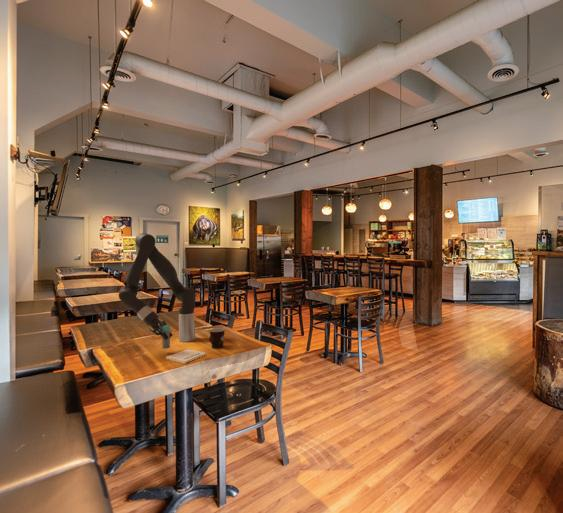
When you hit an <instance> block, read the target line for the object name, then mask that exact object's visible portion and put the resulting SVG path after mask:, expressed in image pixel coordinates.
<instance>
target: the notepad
mask: <svg viewBox="0 0 563 513" xmlns="http://www.w3.org/2000/svg"><path fill="white" fill-rule="evenodd" d="M204 355H205V356H207V352H203V351H198V350H196V349H195V350H193V349H189V348H187V349H184V350H181V351H179V352H178V351H177V352H176V353H173V354H170V355H166V356H165V359H166V360H168V359H169V360H168V361H173V362H177V363H181V364H184V363H185V364H187V362H188V363H190V362H192V360H193V361H195V360H197V358H198V359H200V358H203V357H205V356H204ZM202 356H203V357H202ZM199 357H200V358H199ZM194 359H195V360H194ZM189 361H190V362H189Z"/></svg>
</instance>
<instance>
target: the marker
mask: <svg viewBox="0 0 563 513" xmlns="http://www.w3.org/2000/svg"><path fill="white" fill-rule="evenodd" d="M162 330H163V332H164V333H165V334H166V335H167V336H168V337H169V338H168V339H167V340H165V339H164V338H163V337H162V336H161V342H162V343H161V344H162V346H161V348H162V349H166V350H167V349H170V348H171V337H170V333H171V325H168V324H167V325H164V326H162Z"/></svg>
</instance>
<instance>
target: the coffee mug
mask: <svg viewBox="0 0 563 513" xmlns="http://www.w3.org/2000/svg"><path fill="white" fill-rule="evenodd" d="M225 331H226V330H225V328H220V327H219V328H212V329H210V330H209V342H210V343H211V349H215V350H219V349H223V347H224V340H225V339H224V338H225Z"/></svg>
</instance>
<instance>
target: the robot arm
mask: <svg viewBox="0 0 563 513" xmlns="http://www.w3.org/2000/svg"><path fill="white" fill-rule="evenodd" d="M134 243H135V245H136V246H137V248H138V250H137V254H136V257H135V259H134V261H133V262H132V263H131V266H130V267H129V270H128V272H127V275H126V278H125V283H126V287H125V288H123V289H121V290H120V291H119V293H118V298H119V300H120V302H122V303H123V305H126V306H127V307H129V308H130V309H131V310H132V311H133V312H134V313H135V314H136V315H137V316H138V317H139V319H140V320H141V321H142V322H143V323H144V324H146V326H147V327H150V328H149V331H150V332H152V333H153V334H154V335H156V336H158V337H159V336H160V337H161V338H162V337H163V338H164V339H165V340H167V339H168V338H169V337H168V336H167V335H166V334H165V333H164V332H163V330H162V326H164V325H168V324H167V322H166V321H165V320H160V319H159V318H160V317H159V315H158V314H157V313H156V312H155V311H154V310H153V309H152V308H151V307H150V306H149V305H147V304H146V302H144V300H142V299H140V298H138V297H137V295H138V293H139V283H140V280H141V277H142V274H143V271H144V269H145V266H146V263H147V262H148V260H149V262H150V263H151V265H152V267H154V269H155V270H156V272H157V273H158V274H159V276H160V278H162V279H163V281H164V282H165V283H166V284H167V286H168V287H169V288H170V290H171V292H172V293H173V295H174V296H175V298H176V299H177V301H179V302H181V307H179V309H178V339H179V340H178V341H179V342H182V343H187V342H193V341H194V340H196V324H195V316H194V315H195V312H194V311H195V307H196V292H195V291H194V289H193V288H190V287H185V286H184V285H183V284H182V282H181V281H180V279H179V278H178V277H179V276H178V273H177V269H176V268H175V266H174V265H173V264H172V263H171V261H170V260H169V259H168V258H167V257H166V256H165V255H164V254H162V252H160V251H159V249H158V248H157V247H156V243H157V241H156V238H155V236H153V235H152V234H150V233H138V234H137V235H136V237H135V240H134ZM171 337H173V334H172V333H171V332H170V338H171Z"/></svg>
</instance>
